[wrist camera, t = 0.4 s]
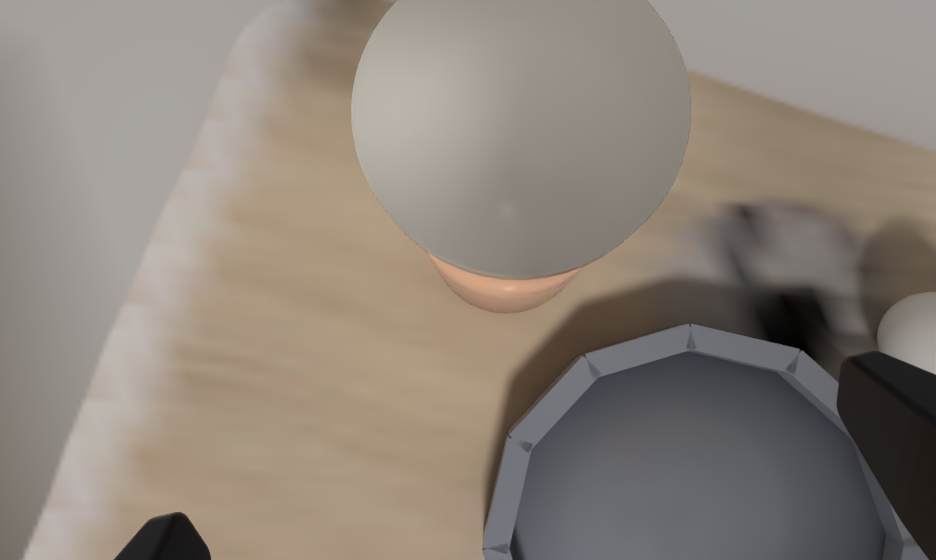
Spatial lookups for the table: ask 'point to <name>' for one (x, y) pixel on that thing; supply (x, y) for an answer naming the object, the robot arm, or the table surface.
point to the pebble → (911, 331)
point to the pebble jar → (519, 135)
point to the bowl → (689, 460)
